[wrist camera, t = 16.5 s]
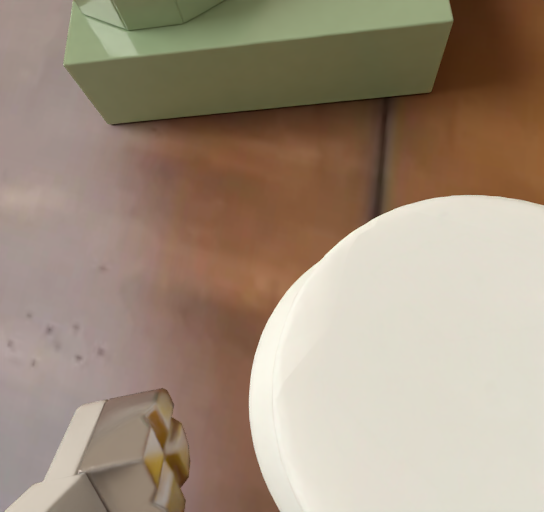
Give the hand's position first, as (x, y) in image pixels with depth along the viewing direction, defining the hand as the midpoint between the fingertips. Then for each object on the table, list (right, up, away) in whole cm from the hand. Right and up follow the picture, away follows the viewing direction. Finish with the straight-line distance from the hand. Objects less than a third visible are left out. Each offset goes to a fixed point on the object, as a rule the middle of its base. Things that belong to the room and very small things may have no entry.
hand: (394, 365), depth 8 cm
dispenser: (-3, +12, +10) cm, 16 cm away
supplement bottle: (+1, -2, +5) cm, 6 cm away
